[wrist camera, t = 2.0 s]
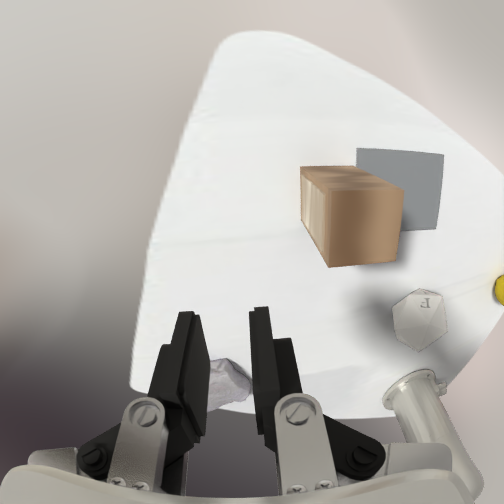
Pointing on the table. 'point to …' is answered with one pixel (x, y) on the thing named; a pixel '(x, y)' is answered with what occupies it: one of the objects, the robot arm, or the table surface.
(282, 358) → the robot arm
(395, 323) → the die
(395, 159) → the pad
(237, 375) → the stone block
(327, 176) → the walnut block
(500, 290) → the lemon
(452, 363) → the table surface
